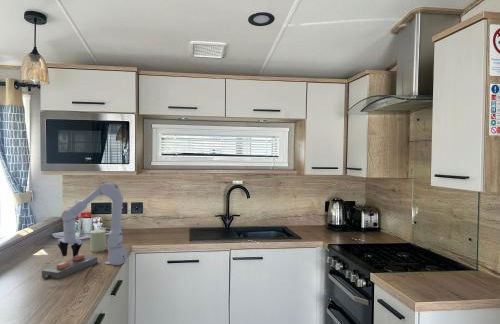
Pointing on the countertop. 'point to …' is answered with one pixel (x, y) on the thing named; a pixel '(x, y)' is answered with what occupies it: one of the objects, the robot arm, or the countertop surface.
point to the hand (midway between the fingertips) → (70, 256)
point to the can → (97, 240)
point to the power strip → (74, 266)
